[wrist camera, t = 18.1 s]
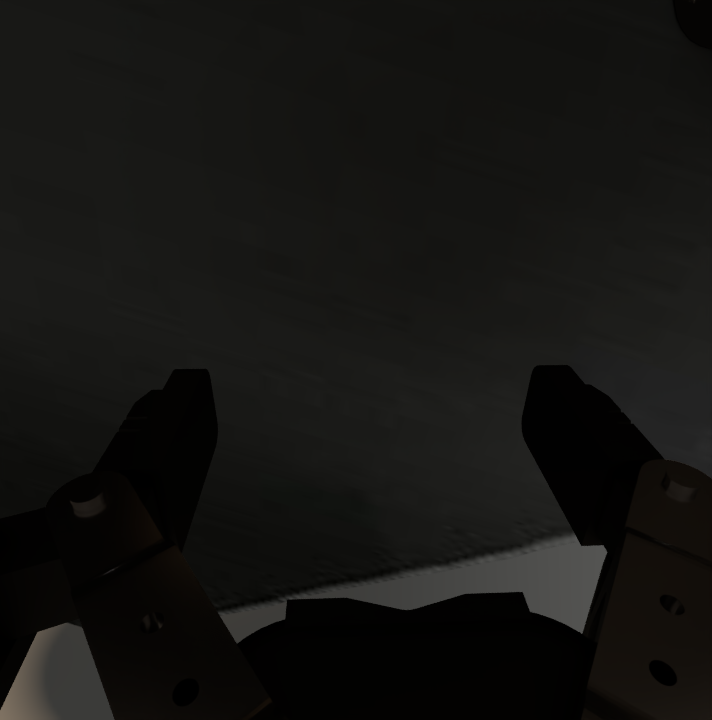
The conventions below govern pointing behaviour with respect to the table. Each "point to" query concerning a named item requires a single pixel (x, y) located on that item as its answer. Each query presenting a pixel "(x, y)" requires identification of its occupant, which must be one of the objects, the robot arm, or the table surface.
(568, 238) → the table surface
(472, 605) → the robot arm
